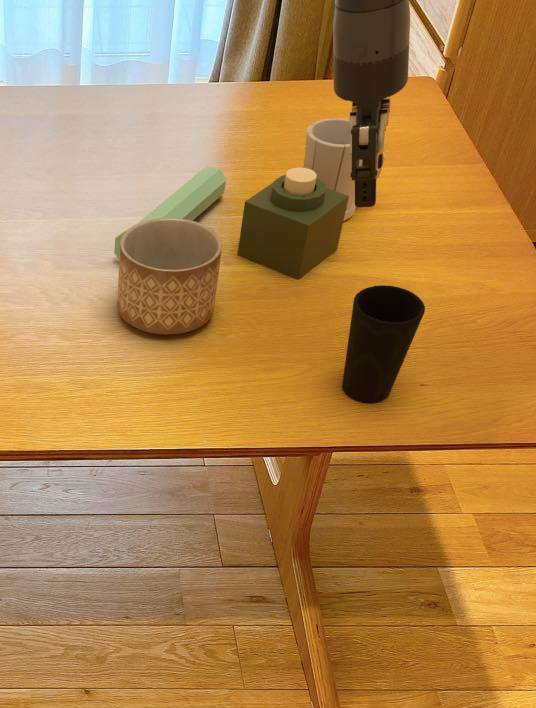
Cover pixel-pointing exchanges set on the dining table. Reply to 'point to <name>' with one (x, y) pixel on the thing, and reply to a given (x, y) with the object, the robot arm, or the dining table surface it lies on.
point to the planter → (168, 275)
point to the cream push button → (300, 181)
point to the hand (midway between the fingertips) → (368, 186)
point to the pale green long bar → (188, 199)
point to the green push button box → (291, 227)
